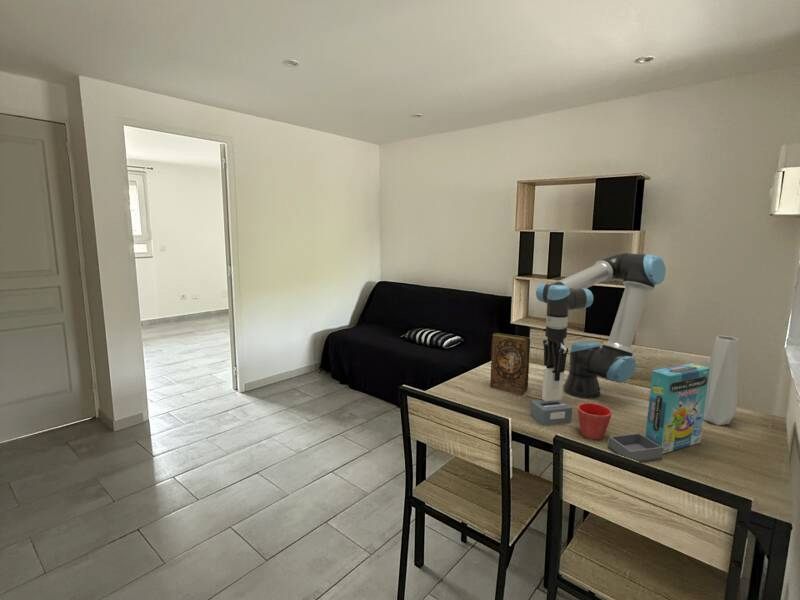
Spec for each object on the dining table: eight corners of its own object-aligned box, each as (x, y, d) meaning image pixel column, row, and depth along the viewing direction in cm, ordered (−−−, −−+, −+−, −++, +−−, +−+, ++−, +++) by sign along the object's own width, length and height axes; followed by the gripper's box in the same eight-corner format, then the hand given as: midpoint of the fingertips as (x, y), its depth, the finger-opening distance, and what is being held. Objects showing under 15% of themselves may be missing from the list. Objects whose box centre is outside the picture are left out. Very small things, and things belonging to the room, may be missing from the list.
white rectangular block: (558, 397, 164) (560, 367, 162) (561, 399, 162) (563, 369, 160) (541, 398, 163) (543, 368, 161) (545, 401, 160) (547, 370, 158)
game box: (661, 455, 138) (670, 376, 133) (643, 446, 143) (651, 370, 139) (701, 443, 146) (711, 367, 141) (682, 434, 151) (691, 362, 147)
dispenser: (557, 412, 169) (558, 397, 168) (571, 422, 160) (572, 406, 159) (530, 415, 167) (531, 399, 165) (542, 426, 158) (543, 409, 157)
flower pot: (607, 444, 144) (609, 418, 143) (573, 436, 150) (575, 410, 148) (610, 432, 153) (613, 407, 151) (578, 424, 159) (580, 400, 157)
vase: (699, 411, 171) (709, 332, 165) (735, 420, 163) (747, 337, 157) (692, 420, 162) (703, 337, 157) (730, 430, 154) (742, 343, 149)
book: (488, 387, 195) (490, 335, 191) (492, 383, 200) (495, 332, 196) (524, 395, 187) (527, 340, 183) (527, 391, 191) (530, 337, 187)
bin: (638, 443, 145) (639, 432, 144) (661, 459, 135) (663, 447, 135) (607, 447, 142) (608, 436, 142) (629, 463, 133) (630, 451, 132)
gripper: (536, 322, 164) (533, 380, 168) (559, 332, 149) (555, 395, 153) (553, 321, 166) (550, 378, 170) (578, 331, 151) (573, 393, 155)
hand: (552, 386), depth 161 cm, fingers closed on white rectangular block, 2 cm apart
